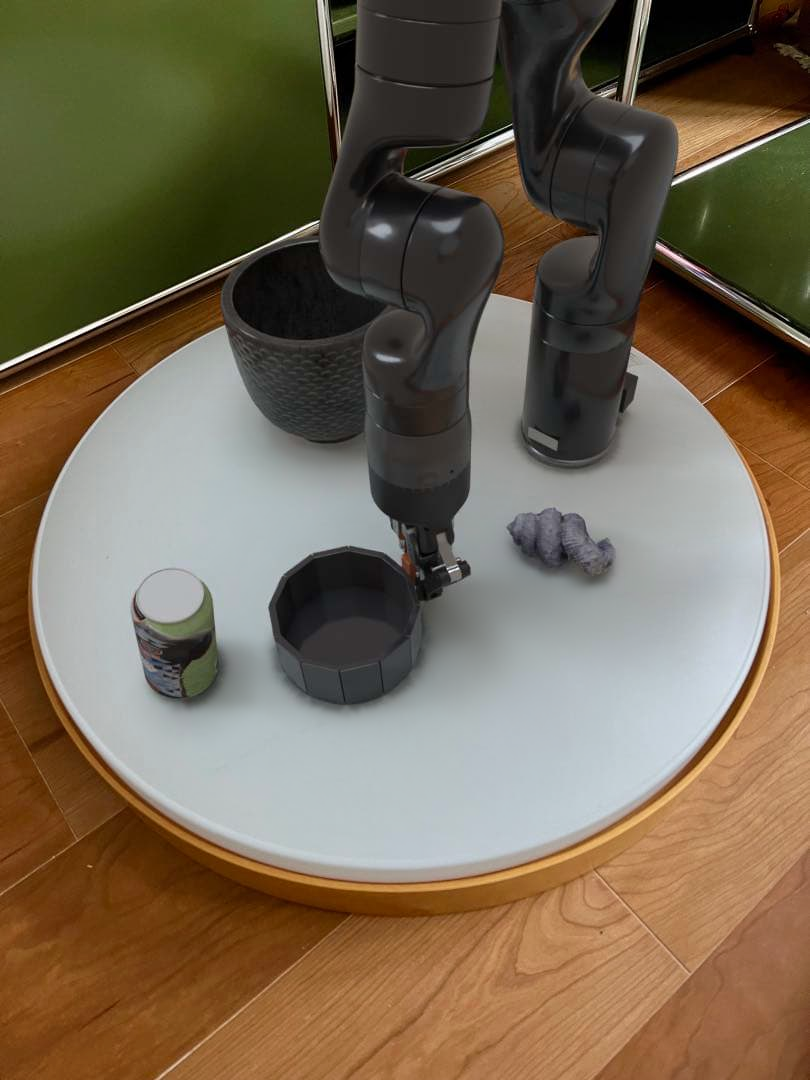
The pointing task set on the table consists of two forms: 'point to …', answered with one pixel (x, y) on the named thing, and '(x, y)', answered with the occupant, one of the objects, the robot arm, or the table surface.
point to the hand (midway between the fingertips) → (423, 584)
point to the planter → (299, 340)
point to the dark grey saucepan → (347, 623)
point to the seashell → (560, 540)
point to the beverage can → (175, 632)
